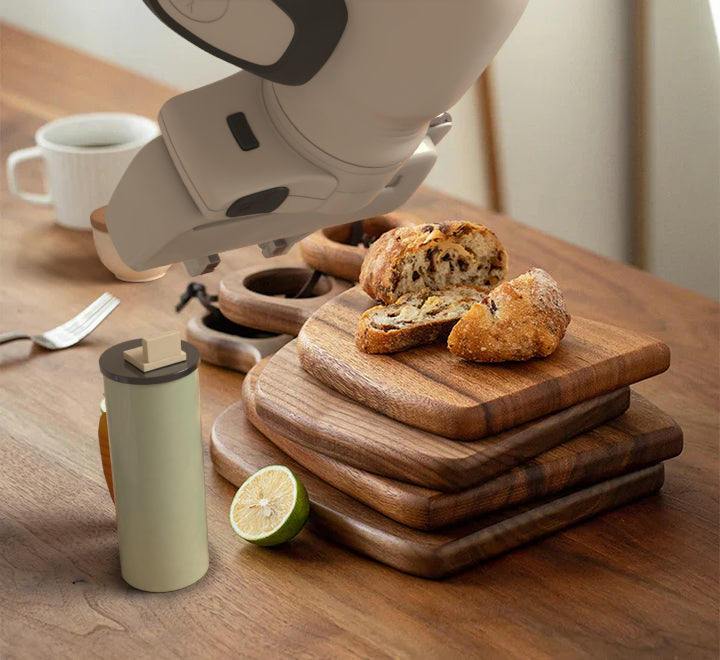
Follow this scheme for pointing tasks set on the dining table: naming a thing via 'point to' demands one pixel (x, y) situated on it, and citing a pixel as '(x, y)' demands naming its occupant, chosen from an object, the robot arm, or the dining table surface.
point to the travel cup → (157, 468)
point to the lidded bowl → (111, 256)
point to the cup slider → (157, 351)
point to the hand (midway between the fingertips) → (233, 256)
